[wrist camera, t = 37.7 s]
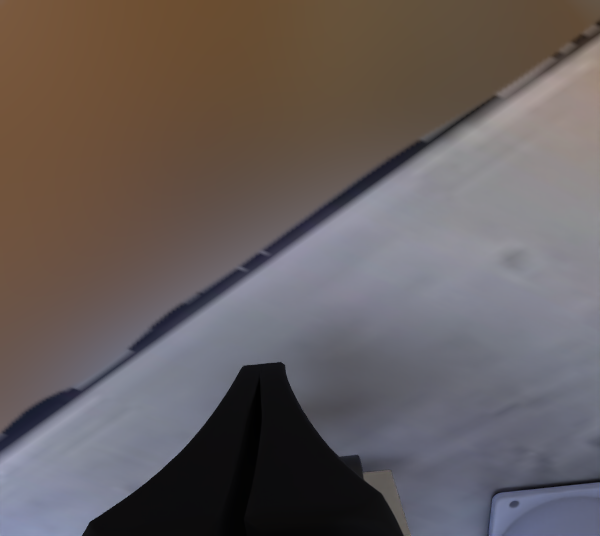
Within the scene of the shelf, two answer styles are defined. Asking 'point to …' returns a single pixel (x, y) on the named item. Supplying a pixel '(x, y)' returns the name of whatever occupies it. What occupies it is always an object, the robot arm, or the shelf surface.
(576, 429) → the shelf surface
